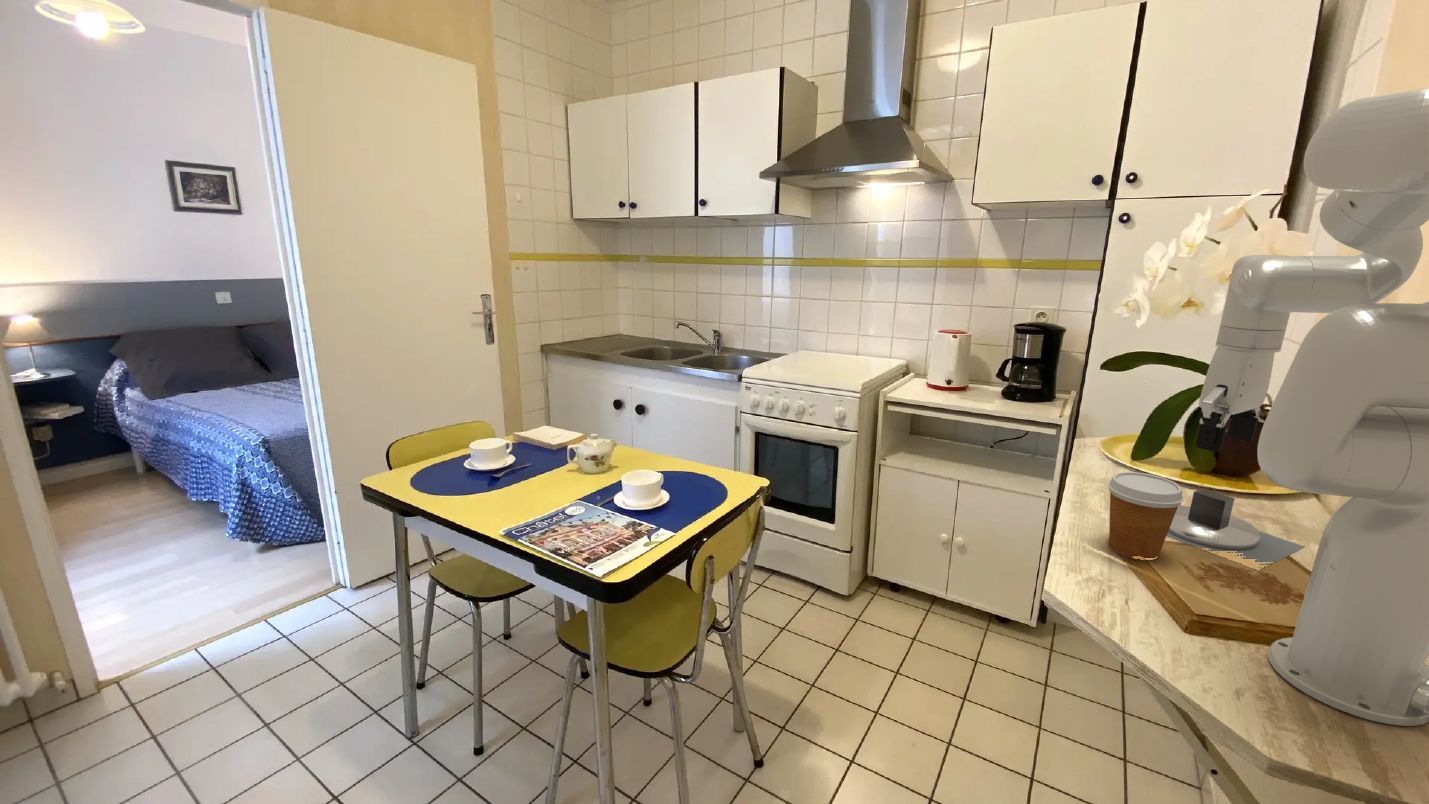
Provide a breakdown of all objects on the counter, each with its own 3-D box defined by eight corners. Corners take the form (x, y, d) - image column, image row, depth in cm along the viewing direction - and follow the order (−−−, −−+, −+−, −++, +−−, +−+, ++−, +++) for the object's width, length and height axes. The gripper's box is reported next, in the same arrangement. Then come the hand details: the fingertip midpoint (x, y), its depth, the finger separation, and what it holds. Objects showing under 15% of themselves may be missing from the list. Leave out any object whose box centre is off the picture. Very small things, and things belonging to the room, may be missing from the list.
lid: (1274, 538, 95) (1283, 501, 93) (1233, 558, 89) (1242, 519, 88) (1182, 507, 106) (1189, 474, 105) (1141, 523, 101) (1148, 488, 99)
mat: (1304, 550, 93) (1305, 546, 92) (1257, 574, 86) (1258, 570, 86) (1163, 502, 110) (1164, 499, 110) (1115, 519, 103) (1116, 516, 103)
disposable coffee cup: (1099, 560, 91) (1112, 488, 87) (1094, 533, 99) (1106, 467, 95) (1176, 575, 86) (1192, 500, 83) (1164, 546, 94) (1178, 477, 91)
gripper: (1247, 330, 96) (1224, 428, 101) (1190, 340, 89) (1167, 446, 94) (1307, 336, 90) (1279, 441, 95) (1251, 348, 83) (1224, 462, 87)
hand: (1224, 444), depth 94 cm, fingers open, 9 cm apart
